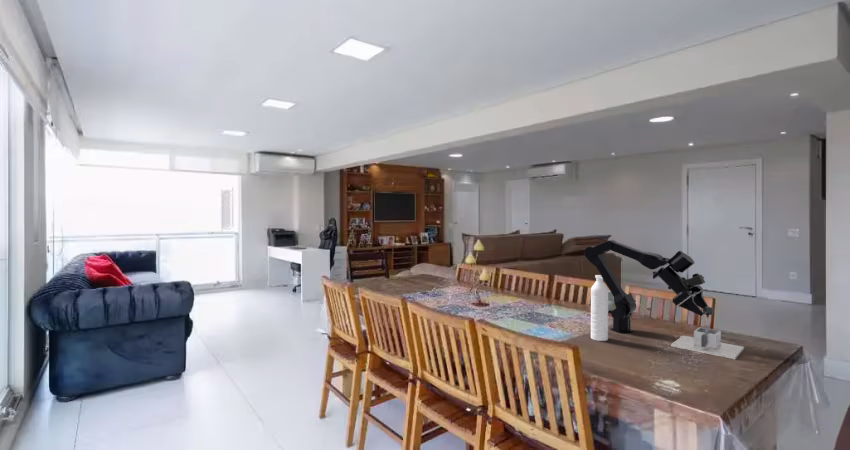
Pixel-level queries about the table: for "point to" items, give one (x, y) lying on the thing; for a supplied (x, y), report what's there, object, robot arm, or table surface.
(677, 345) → the white socket holder tray
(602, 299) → the water bottle
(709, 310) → the plunger
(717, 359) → the table surface
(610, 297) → the air freshener
